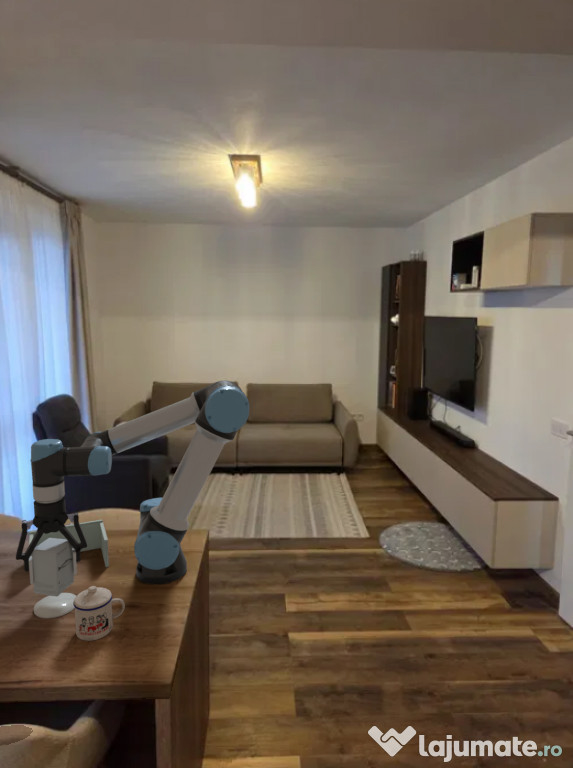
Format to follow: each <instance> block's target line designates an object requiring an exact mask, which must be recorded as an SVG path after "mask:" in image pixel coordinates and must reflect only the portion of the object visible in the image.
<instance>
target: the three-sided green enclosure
mask: <svg viewBox="0 0 573 768" xmlns="http://www.w3.org/2000/svg"><path fill="white" fill-rule="evenodd" d="M79 524H80V526H81V529H82V531H83V534H84V536H85V539H86V541H87V547H86V548H83V549H81V551H80V553H81V552H86V551H92V550H98V549H101V553H102V558H103V561H104V566H105V568H108V567H110V559H109V539H108V535H107V532H106V528H105V525H104V520H103V519H97V520H91V521H85V522H79ZM64 525H65V526H66V528H67V529H68V531H69V532H70V533H71V534H72V536H73V537H74V538H75V539H76V541H77V542H78V543H81V541H80V539H79V536H78V534H77V531H76V529H75V526H74V523H72V524H71V525H67V524H64ZM36 531H37V529H35V530H30V531H29V541H28V542H29V543H28V546H29V545H30V543H31V541H32V539H33V537H34V535H35V534H36ZM48 538H57V539H66V538H65V537H64V535H63V534H61V532H60V531H58V532H51V533H48V534H45V533H43V535H42V537H41V538H40V540H39V541H38V543H37V545H36V546H38V545H39V544H41V543H42V542H44V541H45V540H47V539H48ZM72 549H73V547H72ZM31 556H32V554H31Z"/></svg>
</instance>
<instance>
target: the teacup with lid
mask: <svg viewBox="0 0 573 768" xmlns="http://www.w3.org/2000/svg"><path fill="white" fill-rule="evenodd" d="M115 603H120V604H121V608H120V609H119V611H118V612H116V613H113V609H112V608H113V605H112V604H115ZM125 603H126V602H125V601H124V600H123V599H122V598H120V597H116V598H113V594H112V592H111V590H109V589H108V588H106V587H97V586H96V585H92V586H89V587H88V589H85V590H82V591H81V592H79V593H78V594H77V595H76V597H75V599H74V602H73V605H74V607H75V609H74V619H75V634H76V637H77V638H78V639H80V640H81V641H84V642H87V641H97V640H99V639H102V638H104V637H106V636H108V635H109V634H110V632H111V631H112V629H113V623H114V622H113V620H114V619H117V618H118V617H120V616H121V615H122V614H123V612H124V611H125V608H126V604H125Z"/></svg>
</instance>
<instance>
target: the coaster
mask: <svg viewBox="0 0 573 768" xmlns="http://www.w3.org/2000/svg"><path fill="white" fill-rule="evenodd" d="M76 596H77V595H75V593H71V592H62V593H61V594H60V595H59V596H49V595H46V596H44V597H43V598H41V599H40V600H38V601H37V602H36V604H35V605H34V607H33V613H34V615H35V617H38V618H40V619H55V618H58V617H59V618H60V617H62V616H65V615H67V614H69V613H71V612H72V611H75V607H74V605H73V602H74V599H75V597H76Z"/></svg>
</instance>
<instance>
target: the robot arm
mask: <svg viewBox="0 0 573 768" xmlns="http://www.w3.org/2000/svg"><path fill="white" fill-rule="evenodd" d="M249 415H250V402H249V399H248V397H247V396H246V393H245V392H244V391H243V390H242V388H241V387H240V386H239V385H238V384H236V383H235V382H233V381H231V380H225V379H224V380H219V381H218V380H217V381H215V382H213V383H211V384H209V385H207V386H205V387H202V388H200V389H198V390H196V391H194V392H192V393H191V395H190V396H189V397H187V398H185V399H182V400H180V401H177V402H175V403H172V404H170V405H166V406H164V407H161V408H158V409H157V410H154V411H152V412H149V413H146V414H144V415H142V416H138V417H137V418H134V419H131V420H128V421H126V422H123V423H120V424H118V425H115V426H113V427H111V428H109V429H107V430H104V431H96V432H93V433H91V434H89V435H88V436H87V437H86V438H85V440H84V442H83V443H82V444H81V446H76V447H74V446H73V447H67V446H65V447H64V445H63V442H62V441H61V440H60V439H57V438H46V439H45V438H44V439H39V440H37V441H35V442H33V443H32V444H31V447H30V466H31V467H30V469H31V480H32V497H33V500H34V501H33V513H34V514H33V515H34V517H33V519H30V520H26V519H23V520H22V521H21V534H20V538H19V541H18V544H17V545H18V546H17V548H16V553H15V560H16V561H19V560H22V561H23V566H24V567H23V568H24V569H23V570H24V572H25V573H27V572H29V584H30V585H34V582H33V565H32V556H31V554H32V552H33V551H34V549H35V547H36V545H37V543H38V541H39V540H40V538H41V537H42V535H43V533H45V534H48V533H51V532H58V531H60V532H61V534H63V535H64V537H65V538H66V539H67V540H68V542H69V543H70V544H71V545H72V547H73V549H72V551H73V571H74V576H77V575H78V570H77V569H78V567H77V563H80V562H81V560H82V559H81V558H82V555H81V552H82V551H81V549H83V548H86V547H87V541H86V539H85V536H84V534H83V531H82V529H81V526H80V524H79V523H80V519H79V518H80V517H79V512H77V511H75V512H73V513H71V514H69V513H67V510H66V509H67V508H66V497H65V495H66V492H65V491H66V490H65V477H77V476H78V477H80V476H81V477H83V476H85V477H86V476H95V477H96V476H101V475H108V474H109V473H110V472H111V470H112V465H113V464H112V463H113V457H112V456H116V455H118V454H119V453H121V452H124V451H127V450H130V449H132V448H134V447H137V446H140V445H142V444H144V443H147V442H149V441H151V440H152V441H153V440H154V439H157V438H161V437H162V436H164V435H167V434H169V433H173V432H174V431H177V430H179V429H182V428H185V427H187V426H189V425H192V424H195V428H196V431H195V432H194V434H193V437H192V438H191V440H190V443H189V445H188V447H187V449H186V451H185V453H184V455H183V457H182V459H181V461H180V462H179V464H178V467H177V469H176V471H175V473H174V474H173V476H172V478H171V481H170V482H169V485H168V486H167V488H166V491H165V492H164V494H163V497H154V498H151V499H150V498H149V499H146V500H143V501H142V502H141V503H140V505H139V515H140V518H139V519H140V520H139V521H140V522H139V526H138V530H137V535H136V539H135V542H134V546H133V550H134V556H135V558H136V560H137V563H136V567H135V568H136V569H135V570H136V578H137V579H138V581H140V582H141V583H144V584H147V585H165V584H169V583H172V582H173V583H174V582H175V581H178V580H179V579H181V578H183V576H184V575H185V574H186V572H187V570H188V566H187V564H188V563H187V562H188V561H187V559H186V556H185V554H184V551H183V549H182V544H181V543H182V542H183V540H184V537H185V535H186V533H187V532H188V529H189V528H190V523H189V521H188V517H189V516H190V513H191V511H192V510H193V507H194V505H195V504H196V502H197V499H198V498H199V495H200V494H201V492H202V490H203V488H204V485H206V482H207V481H208V478H209V476H210V474H211V473H212V470H213V468H214V466H215V464H216V462H217V460H218V459H219V456H220V455H221V452H222V450H223V449H224V446H225V445H226V444H227V443H229V442H232V441H234V439H235V437H236V436H237V433H238V431H239V430H240V429H242V427H244V425H245V424H246V422H247V421H248V418H249ZM68 520H70V523H73V524H74V526H75V529H76V531H77V534H78V536H79V539H80V541H81V543H78V542H77V541H76V539H75V538H74V537H73V536H72V534H71V533H70V532H69V531H68V529H67V528H66V526H65V525H66V523H67V521H68ZM32 526H34V527H35V528H36V530H37V531H36V534H35V535H34V537H33V539H32V541H31V543H30V545H29V544H28V546H27V548H26V550H25V552H23V551H24V547H25V544H26V541H27V536H28V530H31V527H32ZM80 551H81V552H80Z"/></svg>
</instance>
